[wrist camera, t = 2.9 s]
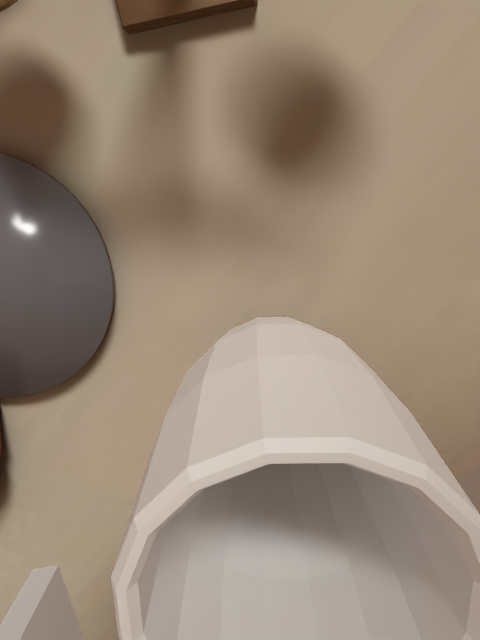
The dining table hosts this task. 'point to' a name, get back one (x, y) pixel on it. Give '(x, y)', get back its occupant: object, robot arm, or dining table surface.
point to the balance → (165, 11)
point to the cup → (295, 506)
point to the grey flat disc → (48, 281)
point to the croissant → (0, 437)
